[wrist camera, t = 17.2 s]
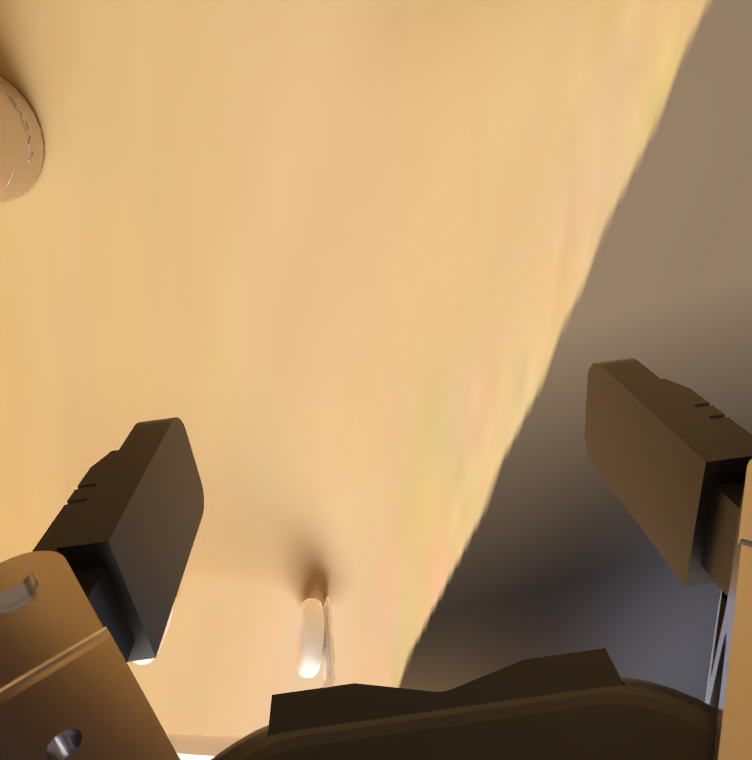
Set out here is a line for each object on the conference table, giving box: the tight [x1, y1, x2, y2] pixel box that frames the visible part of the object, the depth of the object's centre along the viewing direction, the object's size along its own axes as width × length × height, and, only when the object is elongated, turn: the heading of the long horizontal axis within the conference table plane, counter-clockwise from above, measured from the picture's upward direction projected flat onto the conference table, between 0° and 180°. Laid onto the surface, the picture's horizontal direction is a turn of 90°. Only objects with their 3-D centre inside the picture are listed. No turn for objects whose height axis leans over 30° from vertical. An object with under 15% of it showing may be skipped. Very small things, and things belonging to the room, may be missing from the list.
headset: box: [133, 596, 335, 760], centre depth 51 cm, size 20×7×18 cm, turn 79°
